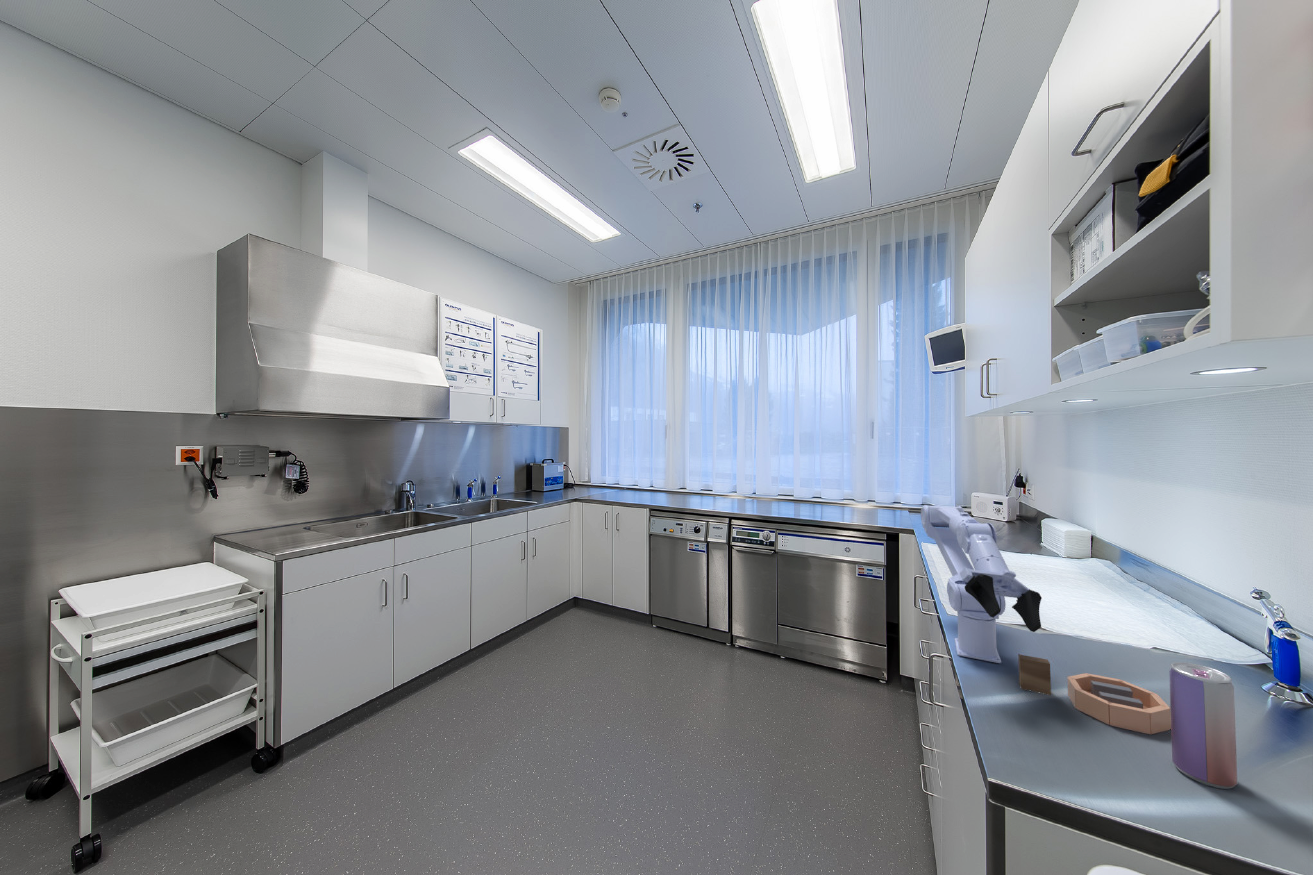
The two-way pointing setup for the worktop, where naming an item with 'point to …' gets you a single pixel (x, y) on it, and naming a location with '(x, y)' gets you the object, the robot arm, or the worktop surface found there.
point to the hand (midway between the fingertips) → (1015, 621)
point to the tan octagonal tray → (1119, 703)
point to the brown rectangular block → (1034, 674)
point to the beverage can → (1203, 724)
